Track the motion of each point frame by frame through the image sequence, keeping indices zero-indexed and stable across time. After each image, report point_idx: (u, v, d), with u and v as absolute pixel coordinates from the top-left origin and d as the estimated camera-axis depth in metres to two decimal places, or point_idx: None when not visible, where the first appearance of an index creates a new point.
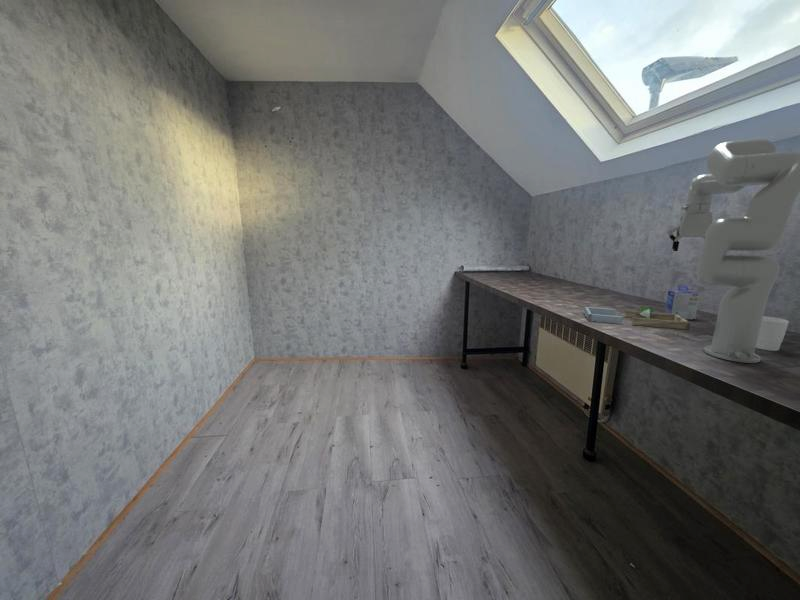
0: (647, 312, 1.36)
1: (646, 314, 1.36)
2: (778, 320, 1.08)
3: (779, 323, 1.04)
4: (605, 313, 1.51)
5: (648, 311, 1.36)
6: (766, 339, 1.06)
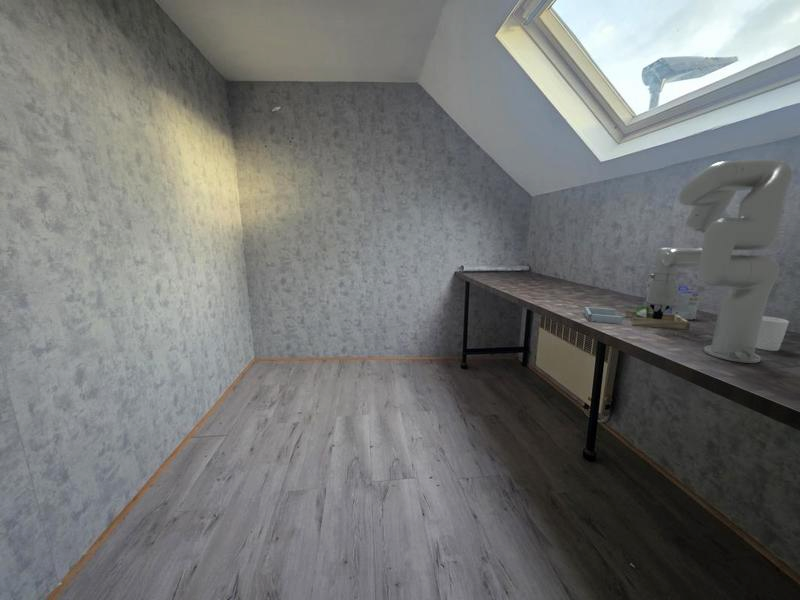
0: (644, 311, 1.37)
1: (643, 313, 1.37)
2: (778, 320, 1.08)
3: (779, 323, 1.04)
4: (605, 313, 1.51)
5: (645, 310, 1.37)
6: (766, 339, 1.06)
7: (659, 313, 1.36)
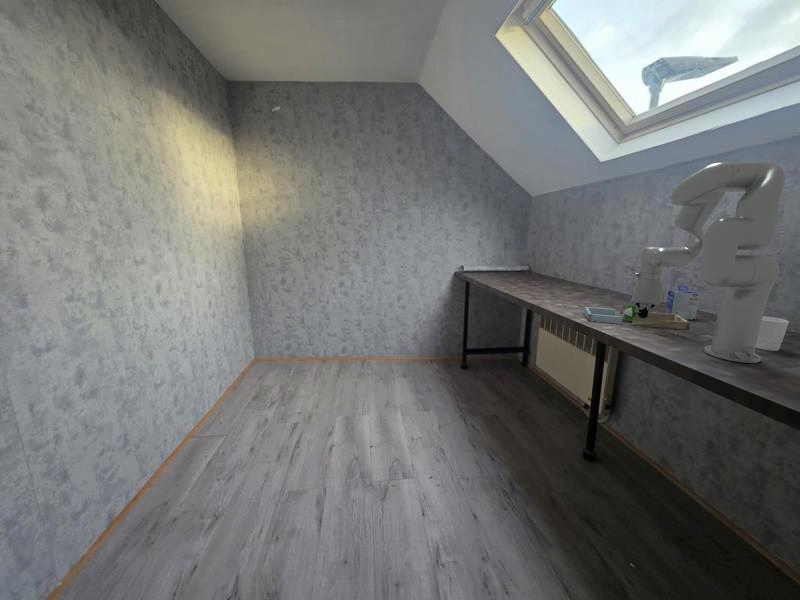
0: (629, 310, 1.39)
1: (628, 312, 1.39)
2: (778, 320, 1.08)
3: (779, 323, 1.04)
4: (605, 313, 1.51)
5: (630, 309, 1.39)
6: (766, 339, 1.06)
7: (644, 311, 1.38)
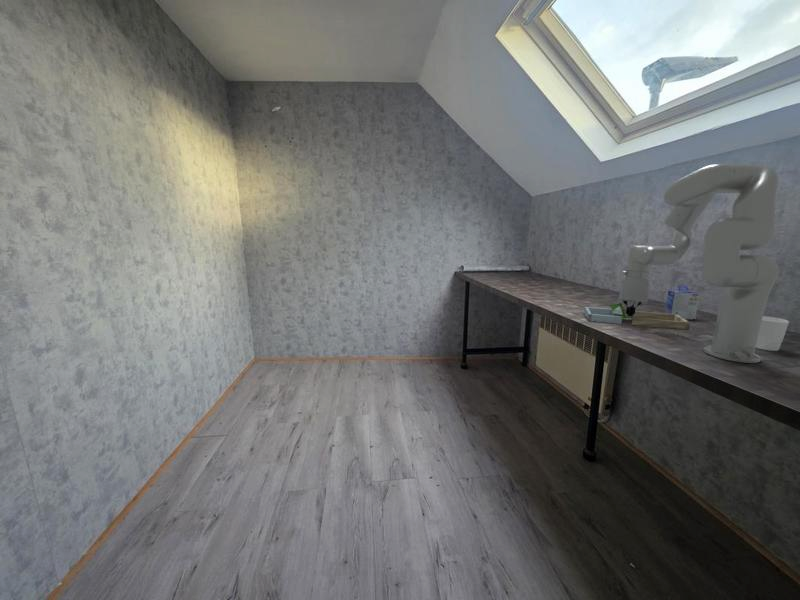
0: (618, 309, 1.40)
1: (618, 311, 1.40)
2: (778, 320, 1.08)
3: (779, 323, 1.04)
4: (605, 313, 1.51)
5: (619, 308, 1.40)
6: (766, 339, 1.06)
7: (632, 309, 1.40)
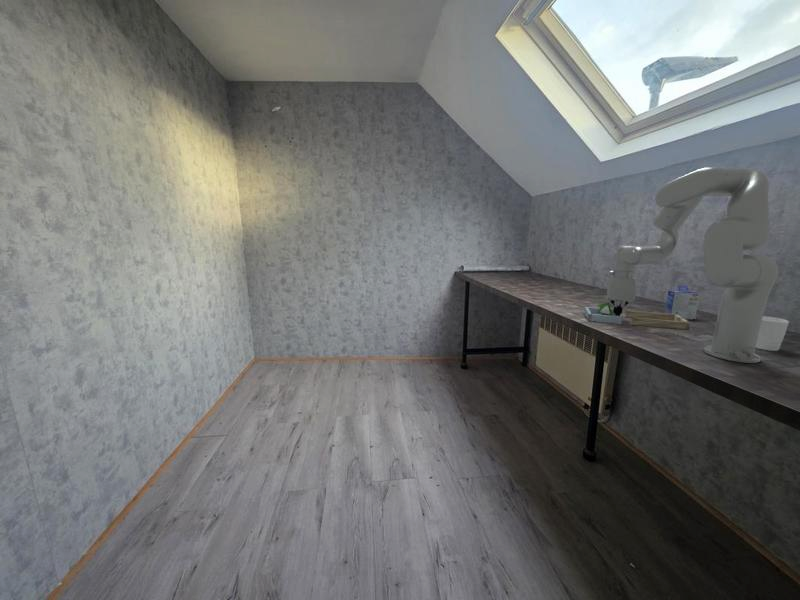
0: (606, 308, 1.41)
1: (606, 310, 1.41)
2: (778, 320, 1.08)
3: (779, 323, 1.04)
4: None
5: (607, 307, 1.42)
6: (766, 339, 1.06)
7: (619, 308, 1.42)
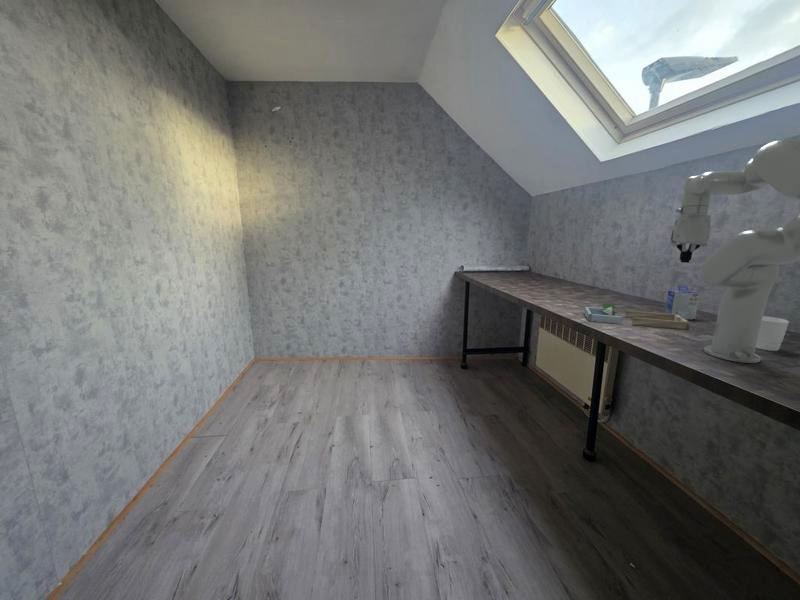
0: (610, 309, 1.41)
1: (609, 311, 1.41)
2: (778, 320, 1.08)
3: (779, 323, 1.04)
4: None
5: (610, 308, 1.41)
6: (766, 339, 1.06)
7: (688, 253, 1.19)
